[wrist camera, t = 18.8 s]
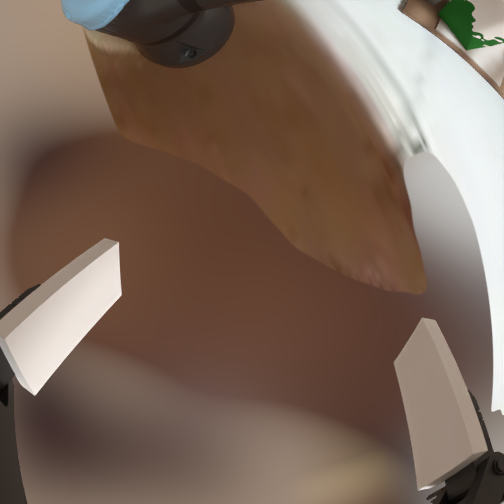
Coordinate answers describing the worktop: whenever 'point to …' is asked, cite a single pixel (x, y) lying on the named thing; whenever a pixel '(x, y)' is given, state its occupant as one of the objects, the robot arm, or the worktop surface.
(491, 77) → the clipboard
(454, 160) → the worktop surface
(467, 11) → the soya milk
